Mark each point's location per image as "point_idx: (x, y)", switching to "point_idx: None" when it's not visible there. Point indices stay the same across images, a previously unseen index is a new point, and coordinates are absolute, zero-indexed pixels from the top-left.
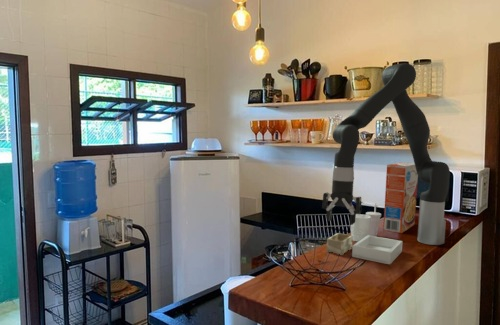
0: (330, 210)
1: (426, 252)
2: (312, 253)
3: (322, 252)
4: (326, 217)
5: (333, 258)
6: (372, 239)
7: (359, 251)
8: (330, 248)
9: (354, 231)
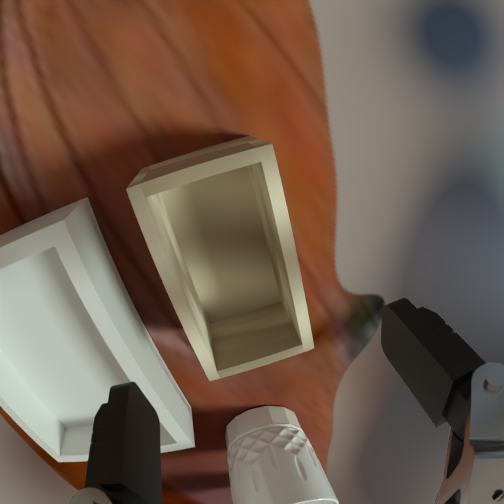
0: (454, 408)
1: (41, 456)
2: (287, 40)
3: (259, 105)
4: (436, 314)
5: (134, 65)
6: (162, 433)
7: (35, 226)
8: (226, 146)
9: (279, 440)
